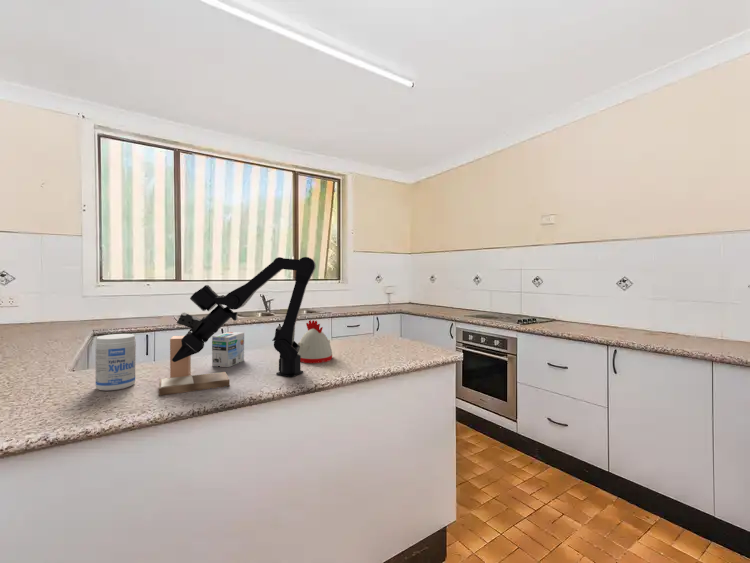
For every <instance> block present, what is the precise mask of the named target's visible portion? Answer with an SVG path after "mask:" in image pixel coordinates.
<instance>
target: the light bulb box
mask: <svg viewBox="0 0 750 563" xmlns="http://www.w3.org/2000/svg"><path fill="white" fill-rule="evenodd" d="M244 361H245V332H238V331H237V332H236V331H227V332H224V333H220V334H216V335H212V336H211V366H212V367H218V366H220V368H231V367H233V366H235V365H236V364H237V365H238V364H240V363H242V362H244ZM239 362H240V363H239Z"/></svg>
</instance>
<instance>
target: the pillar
mask: <svg viewBox="0 0 750 563" xmlns="http://www.w3.org/2000/svg"><path fill="white" fill-rule="evenodd" d="M184 336H185V335H173V336H171V337H170V339H169V350H170V351H169V370H170V371H169V378H174V377H183V376H191V373H192V370H191V365H192V364H191V363H192V358H191V357H192V355H191V356H188V357H186V358H183V359H181V360H179V361H176V362H173V361H172V359H173V357H174V356H175V355H176V353H177V352H178V351H179V349H180V348H181V346H182V342H181V340H182V338H183V337H184Z"/></svg>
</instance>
